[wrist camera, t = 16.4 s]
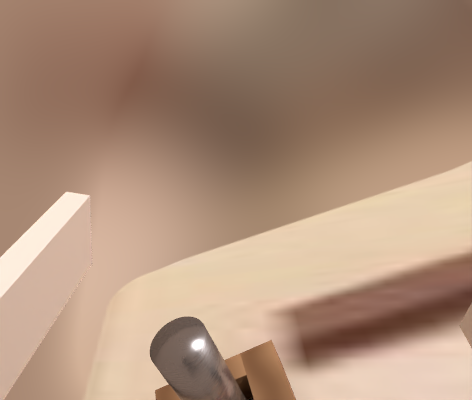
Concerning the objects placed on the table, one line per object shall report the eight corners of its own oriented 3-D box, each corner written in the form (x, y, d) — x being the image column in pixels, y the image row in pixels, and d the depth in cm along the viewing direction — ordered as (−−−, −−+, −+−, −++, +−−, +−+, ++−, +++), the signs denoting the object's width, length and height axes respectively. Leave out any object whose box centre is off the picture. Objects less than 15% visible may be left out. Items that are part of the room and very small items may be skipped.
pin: (253, 403, 44) (200, 308, 36) (267, 448, 40) (210, 353, 32) (211, 421, 44) (148, 330, 36) (220, 469, 40) (151, 379, 31)
